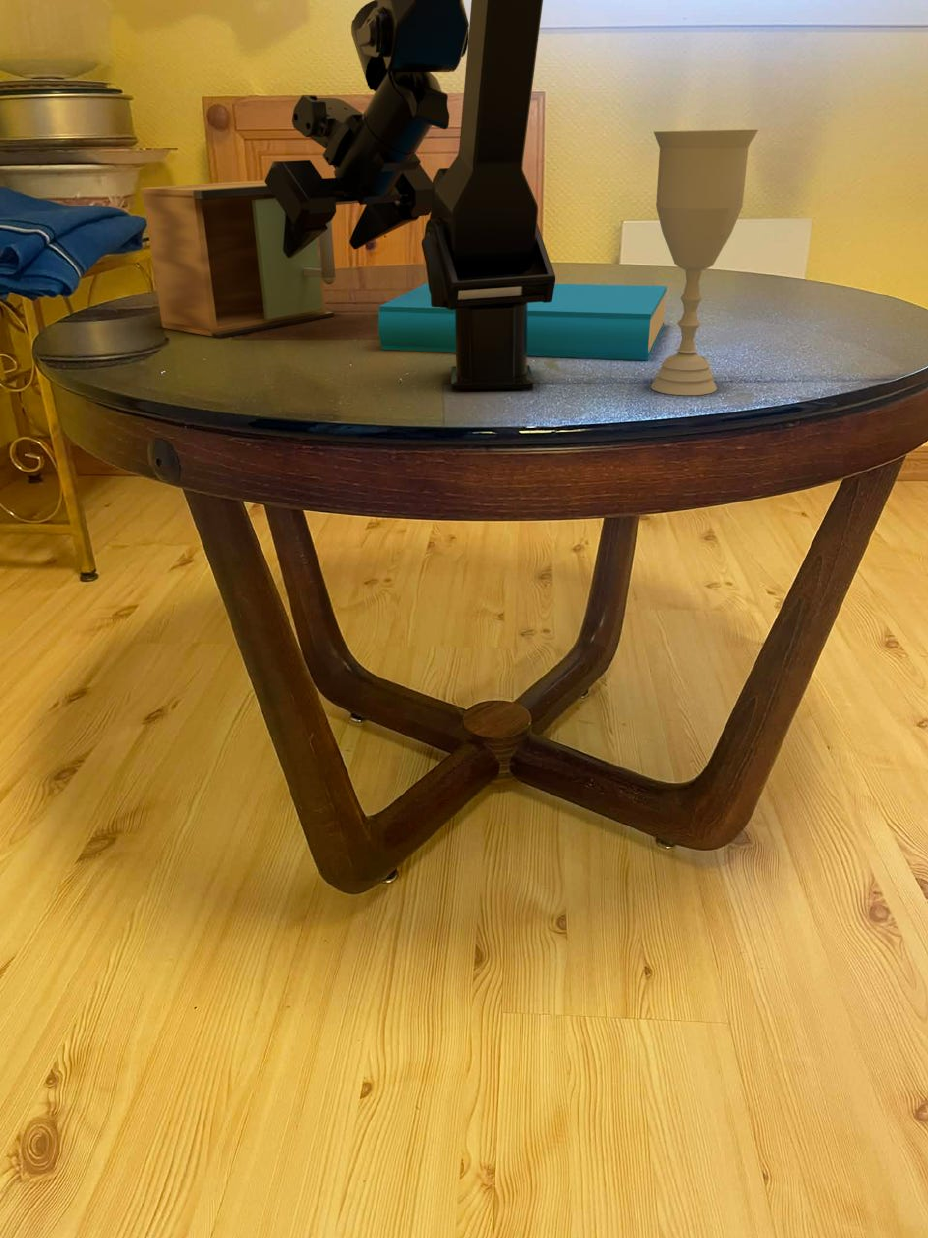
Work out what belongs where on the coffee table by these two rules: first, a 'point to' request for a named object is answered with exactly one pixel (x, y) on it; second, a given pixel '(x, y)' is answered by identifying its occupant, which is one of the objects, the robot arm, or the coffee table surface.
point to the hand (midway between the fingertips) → (320, 249)
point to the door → (289, 265)
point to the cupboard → (210, 258)
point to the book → (542, 322)
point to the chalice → (697, 230)
